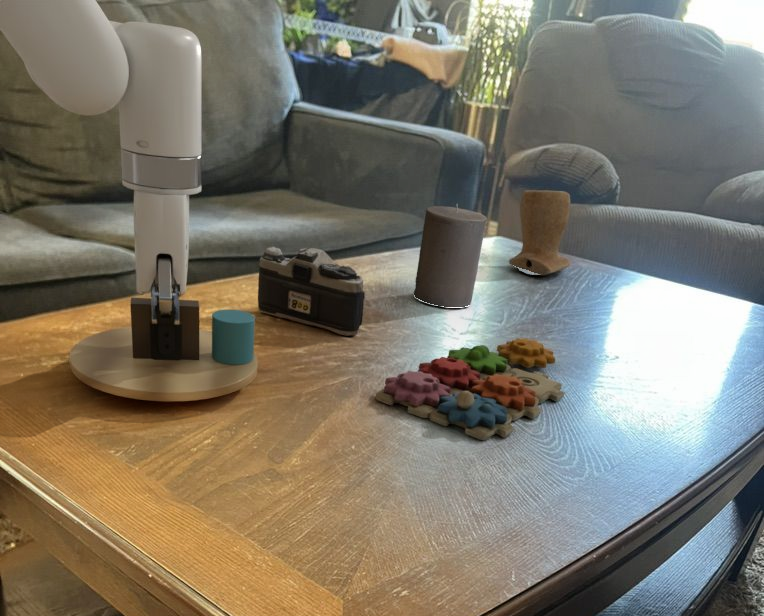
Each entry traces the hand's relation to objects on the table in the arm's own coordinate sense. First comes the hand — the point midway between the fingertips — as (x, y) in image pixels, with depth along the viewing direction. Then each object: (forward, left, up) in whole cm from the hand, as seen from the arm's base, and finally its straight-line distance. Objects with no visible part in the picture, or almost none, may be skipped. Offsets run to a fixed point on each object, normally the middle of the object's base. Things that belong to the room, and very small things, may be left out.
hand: (166, 345), depth 85 cm
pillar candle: (+44, +35, -4) cm, 56 cm away
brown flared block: (+71, +59, -4) cm, 92 cm away
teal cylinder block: (+7, 0, -1) cm, 7 cm away
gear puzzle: (+39, -1, -4) cm, 39 cm away
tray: (0, 0, -2) cm, 2 cm away
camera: (+21, +23, -4) cm, 31 cm away
